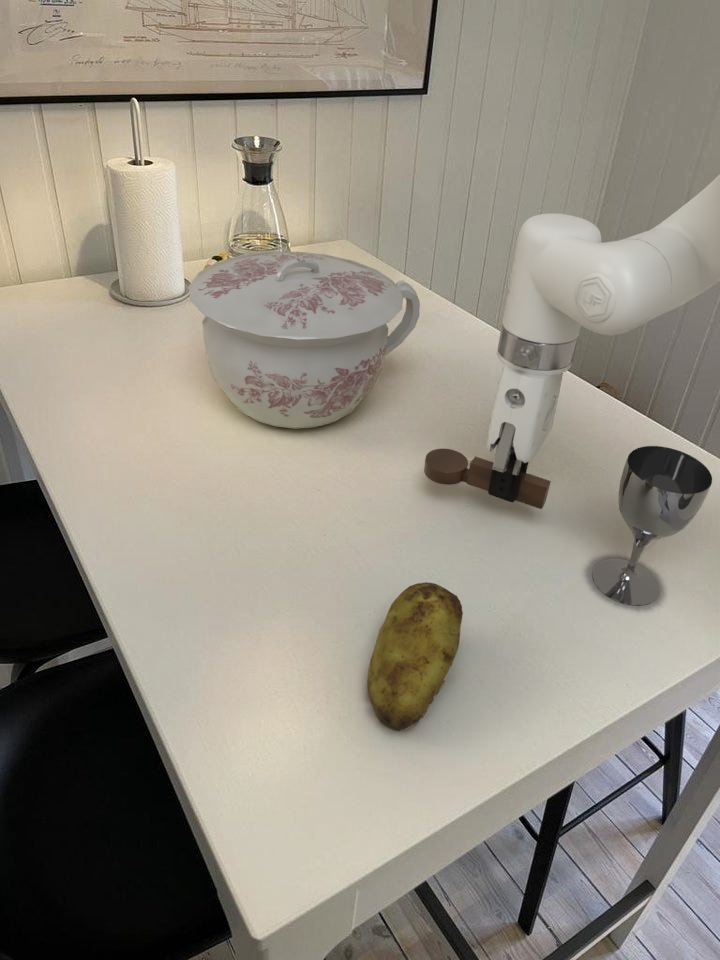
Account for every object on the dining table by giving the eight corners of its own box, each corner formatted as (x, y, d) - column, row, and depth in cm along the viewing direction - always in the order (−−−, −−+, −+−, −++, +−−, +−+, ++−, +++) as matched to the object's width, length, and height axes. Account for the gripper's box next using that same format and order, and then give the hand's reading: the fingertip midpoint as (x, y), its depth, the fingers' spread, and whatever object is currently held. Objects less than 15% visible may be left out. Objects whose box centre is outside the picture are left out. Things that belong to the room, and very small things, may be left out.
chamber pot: (158, 428, 98) (142, 276, 86) (245, 342, 120) (242, 211, 107) (362, 478, 93) (377, 323, 80) (415, 379, 114) (433, 244, 102)
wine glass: (663, 617, 77) (714, 502, 68) (585, 595, 79) (625, 481, 70) (663, 568, 83) (710, 457, 74) (591, 548, 85) (628, 438, 76)
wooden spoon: (549, 494, 86) (555, 473, 84) (537, 517, 83) (542, 495, 81) (433, 456, 91) (436, 435, 90) (416, 476, 88) (419, 454, 86)
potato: (327, 699, 66) (331, 637, 61) (409, 617, 75) (419, 557, 70) (404, 753, 62) (415, 692, 58) (481, 660, 71) (497, 601, 66)
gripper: (551, 387, 68) (514, 541, 79) (592, 327, 80) (555, 469, 90) (473, 365, 71) (448, 517, 81) (524, 310, 82) (496, 450, 93)
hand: (505, 491), depth 86 cm, fingers closed on wooden spoon
